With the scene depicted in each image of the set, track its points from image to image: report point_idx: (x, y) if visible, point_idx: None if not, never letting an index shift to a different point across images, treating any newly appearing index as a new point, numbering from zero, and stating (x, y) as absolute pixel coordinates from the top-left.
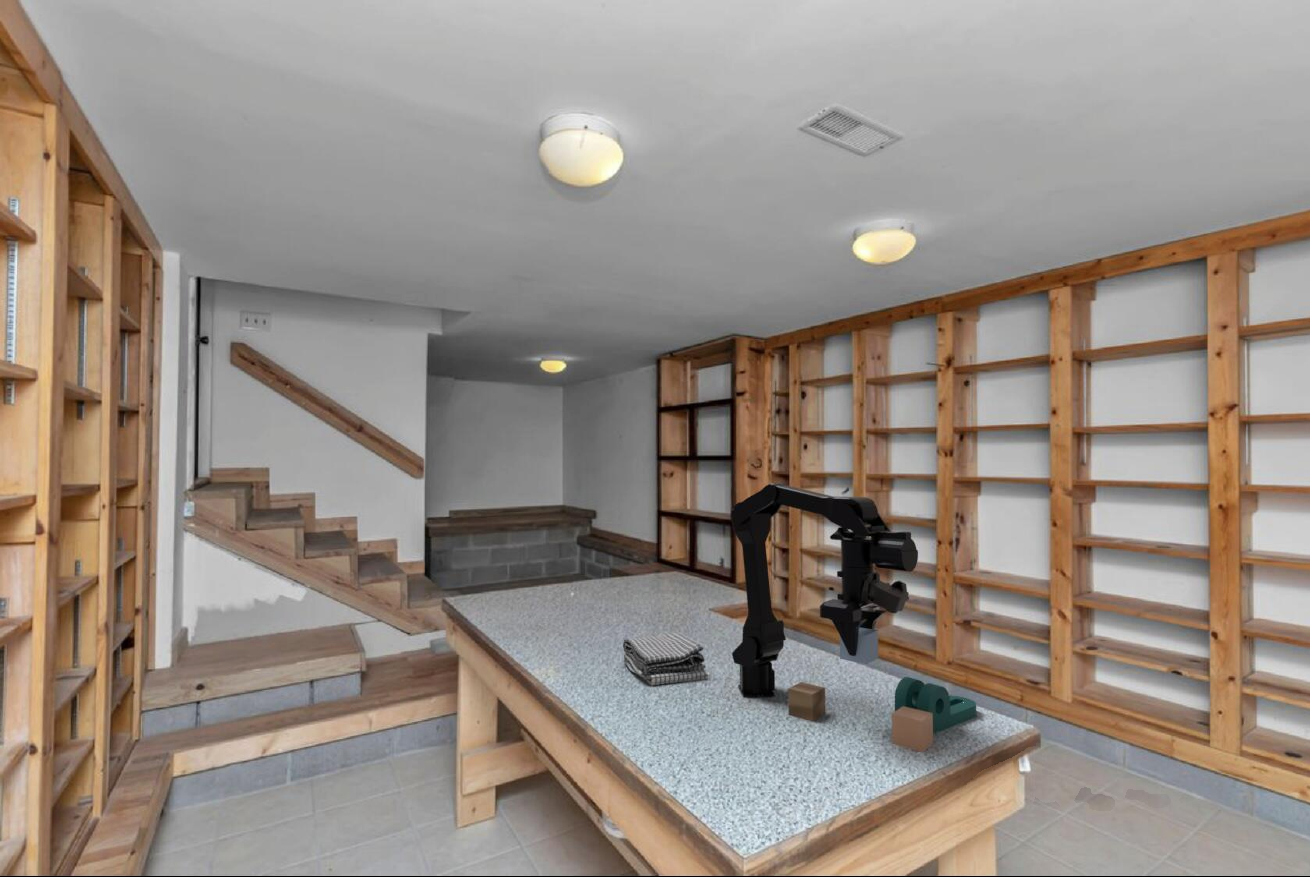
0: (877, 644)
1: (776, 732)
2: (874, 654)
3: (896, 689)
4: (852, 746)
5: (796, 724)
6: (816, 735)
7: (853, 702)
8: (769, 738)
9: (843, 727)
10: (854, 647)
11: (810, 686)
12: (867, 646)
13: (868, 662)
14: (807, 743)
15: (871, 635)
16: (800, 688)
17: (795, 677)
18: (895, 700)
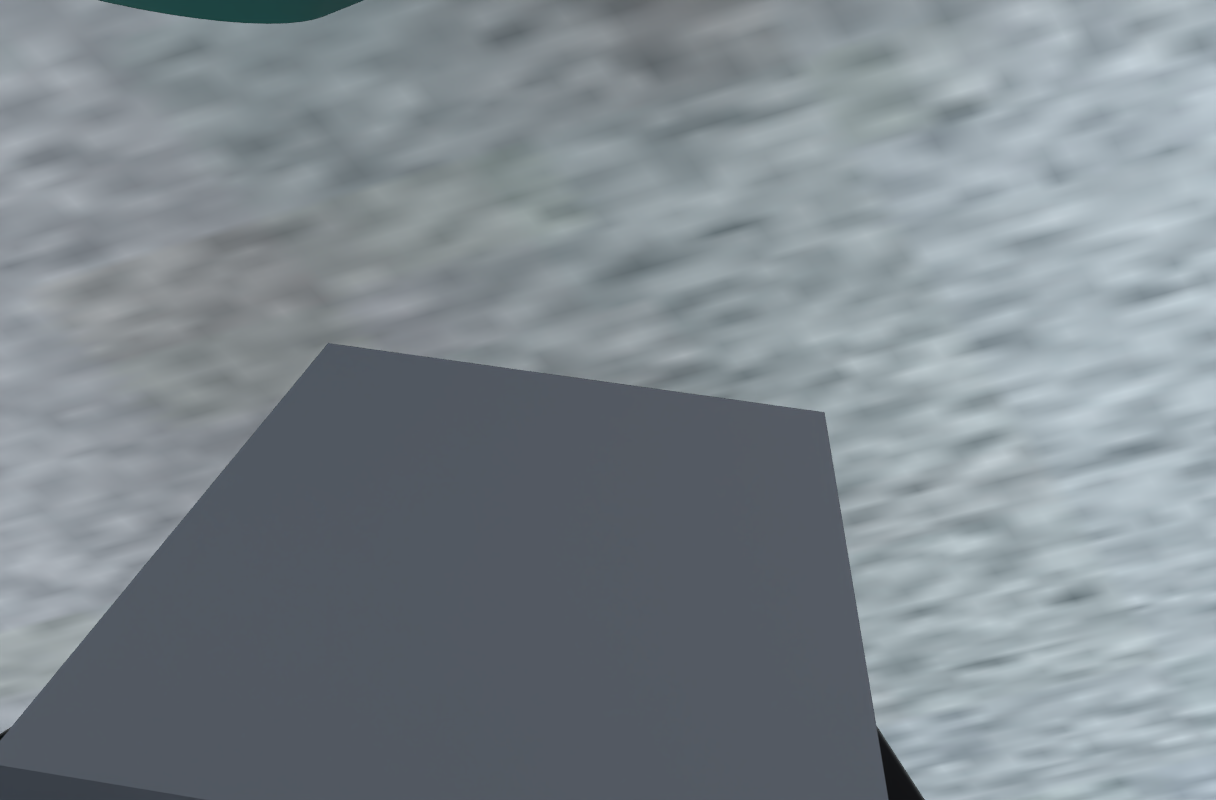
0: (241, 493)
1: (1070, 613)
2: (463, 416)
3: (251, 14)
4: (1123, 139)
5: (869, 561)
6: (1009, 414)
7: (217, 386)
8: (1194, 617)
9: (752, 308)
10: (907, 782)
11: None
12: (790, 619)
13: (749, 407)
14: (1192, 421)
15: (499, 773)
16: None
17: None
18: (327, 4)
